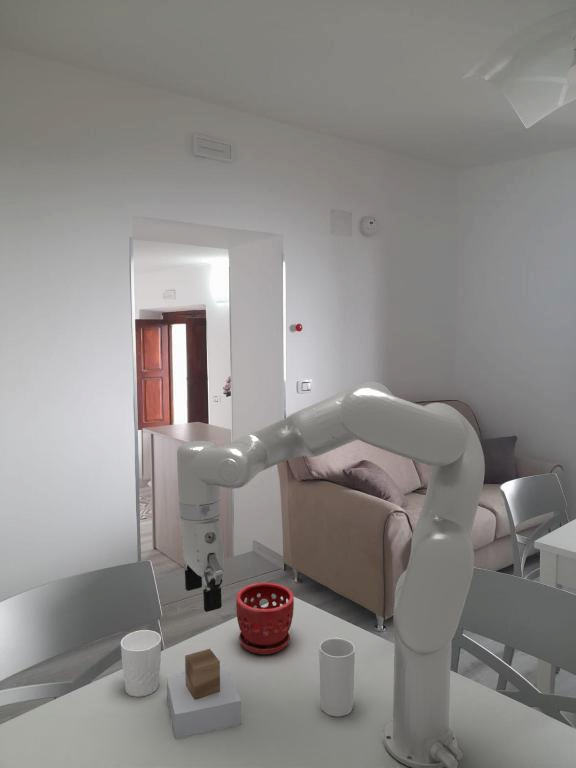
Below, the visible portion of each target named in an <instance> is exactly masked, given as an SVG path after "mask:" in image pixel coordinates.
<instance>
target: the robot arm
mask: <svg viewBox="0 0 576 768" xmlns="http://www.w3.org/2000/svg"><path fill="white" fill-rule="evenodd" d="M355 441H361V442H363V443H365V444H368V445H370V446H372V447H375V448H377V449H380V450H384V451H386V452H389V453H391V454H394V455H397V456H400V457H403V458H405V459H409V460H411V461H413V462H417V463H420V464H423V465H426V466H431V471H430V476H429V479H428V483H427V488H426V492H425V496H424V500H423V503H422V506H421V509H420V513H419V517H418V518H417V521H416V523H415V526H414V528H413V532H412V535H411V548H410V555H409V560H408V564H407V566H406V567H407V568H406V570H404V572H402V573H401V575H400V577H399V578H398V580H397V582H396V587H395V588H394V589H395V591H394V601H393V614H392V615H393V616H392V618H393V619H392V622H393V628H394V650H393V651H394V656H393V691H392V693H393V694H392V695H393V697H392V698H393V699H392V701H393V702H392V719H391V720H390V721H389V722H388V723H387V724H386V725H385V728H384V730H383V742H384V743H383V744H384V747H385V748H386V750H387V753H389V754H390V756H392V757H393V758H394V759H395V760H397V761H398V762H399V763H402V764H403V765H405V766H407V767H409V768H458V766H459V760H461V759H462V758H463V755H464V753H463V751H461V750H460V748H458V746H459V745H458V740H457V738H456V735H455V734H454V731H453V730H452V729H451V728H450V726H449V725H450V695H451V691H450V690H451V688H450V687H451V665H452V640H453V638H454V636H455V634H456V632H457V628H458V626H459V623H460V620H461V616H462V613H463V610H464V607H465V603H466V600H467V597H468V594H469V591H470V586H471V583H472V579H473V574H474V569H475V553H474V547H473V542H472V532H473V526H474V522H475V519H476V514H477V511H478V507H479V503H480V499H481V495H482V491H483V487H484V481H485V474H486V473H485V470H486V469H485V468H486V465H485V464H486V463H485V455H484V451H483V448H482V444H481V441H480V438H479V436H478V434H477V432H476V430H475V429H474V427H473V426H472V424H471V423H470V422H469V420H468V419H466V417H465V416H464V415H463V414H461V412H459V411H458V410H457V409H455V407H453V406H451V405H449V404H447V403H443V402H431V403H428V404H426V405H421V404H417V403H414V402H411V401H408V400H405V399H403V398H400V397H397V396H395V395H393V393H392V392H391V391H390V390H389V388H388V387H386V385H384V384H382V383H380V382H377V381H367V382H363V383H360V384H358V385H355V386H353V387H350V388H348V389H345V390H343V391H341V392H339V393H336V394H335V395H332V396H330V397H327V398H325V399H323V400H320V401H319V402H317V403H316V402H315V403H314V404H312V405H309V406H307V407H304V408H301V409H300V410H298V411H295V412H292V413H291V414H290V415H288V416H287V417H285V418H283V419H281V420H278V421H275V422H273V423H271V424H269V425H266V426H263V427H262V428H260V429H257V430H255V431H252V432H250V433H248V434H246V435H243V436H241V437H239V438H237V439H235V440H234V441H232V442H231V443H229V444H226V445H224V446H221V447H218V446H217V444H216V443H215V442H212V441H208V440H207V441H206V440H195V441H194V440H192V441H188V442H183V443H182V444H181V445H180V446H178V448H177V451H176V462H177V463H176V465H177V487H178V489H177V491H178V493H177V494H178V512H179V513H178V515H179V517H178V519H179V520H180V522H182V527H181V528H182V530H181V531H182V534H181V535H182V536H181V537H182V544H181V545H182V557H183V560H184V563H183V566H184V567H183V568H184V569H185V570H184V583H185V584H184V586H185V588H184V589H185V590H186V591H187V592H189V591H192V590H197V589H201V588H202V587H203V585H204V589H202V592H203V594H202V595H203V596H202V597H203V611H205V612H206V613H207V612H212V611H215V610H220V609H221V608H222V602H223V601H222V587H223V584H222V583H223V575H224V572H225V570H226V569H225V553H224V551H225V550H224V541H223V540H224V539H223V534H222V533H223V532H222V531H223V530H222V527H221V522H220V521H221V520H220V518H221V510H222V509H221V492H220V491H221V487H222V488H225V489H240V488H242V487H245V486H246V485H247V484H248V483H250V482H251V481H252V480H253V479H254V478H255V477H256V476H257V475H258V474H259V473H261V472H264V471H265V470H267V469H270V468H272V467H274V466H276V465H279V464H281V463H284V462H286V461H289V460H292V459H295V458H299V457H309V458H313V457H318V456H322V455H324V454H327V453H328V452H331V451H333V450H336V449H338V448H341V447H343V446H346V445H347V444H351V443H353V442H355ZM207 570H209V571H207ZM209 577H212V578H211V579H210V580H209Z"/></svg>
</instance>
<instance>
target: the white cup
mask: <svg viewBox="0 0 576 768" xmlns="http://www.w3.org/2000/svg"><path fill="white" fill-rule="evenodd" d="M161 648H162V636H161V634H160V633H158V631H154V630H149V629H142V630H136V631H135V630H134V631H133V632H129V633H128V634H126V635H124V637H123V638H122V639H121V641H120V650H121V664H122V665H121V666H122V673H123V674H122V675H123V678H124V690H125V693H126V694H128V695H129V696H131V697H136V698H139V697H140V698H141V697H146V696H149V695H151V694H153V693H154V692H156V691H157V690H158V688H159V686H160V673H161V661H162V659H161V654H162V653H161V652H162V649H161Z"/></svg>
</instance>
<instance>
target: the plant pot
mask: <svg viewBox="0 0 576 768" xmlns="http://www.w3.org/2000/svg"><path fill="white" fill-rule="evenodd" d="M258 594H260V596H258ZM272 595H275V598H273V596H272ZM281 597H282V598H281ZM252 599H253V601H252ZM235 600H236V601H235V602H236V604H235V605H236V608H235V609H236V618H237V619H236V620H237V624H238V628H239V630H240V633H239V634H238V635H239V636H238V638H239V642H240V644H241V645H242V647H243V648H244V649H245V650H246V651H249V652H250V653H254V654H258V655H270V654H275V653H277V652H280V651H282V650H283V649H285V647H287V645H288V644H289V642H290V633H289V631H290V629H291V625H292V621H293V617H294V611H295V610H294V608H295V607H294V606H295V605H294V603H295V602H294V601H295V599H294V593H293V592H292V590H290V589H289V588H288V587H286V586H284V585H281V584H278V583H272V582H260V583H252V584H249V585H247V586H245V587H243V588H240V590H239V591H238V593H237V595H236V599H235ZM245 600H246V601H245ZM262 600H266V601H267V602H268V603H267V606H264V607H263V606H261V603H260V602H261V601H262ZM273 603H275V605H274V604H273Z"/></svg>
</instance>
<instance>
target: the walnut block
mask: <svg viewBox="0 0 576 768" xmlns="http://www.w3.org/2000/svg"><path fill="white" fill-rule="evenodd" d="M184 658H185V659H184V662H185V663H184V666H185V671H184V673H185V680H186V687H187V688H188V690H189V692H190V693H191V695H192V696H193V698H194V700H196V699H199V698H202V697H206V696H209V695H212V694H215V693H218V692H220V666H221V661H220V659H219V658H218V657H217V656H216V655H215V653H214V652H213V651H212V649H211V648H208V649H204V650H200V651H197V652H193V653H189V654H186V655H185V656H184Z"/></svg>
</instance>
